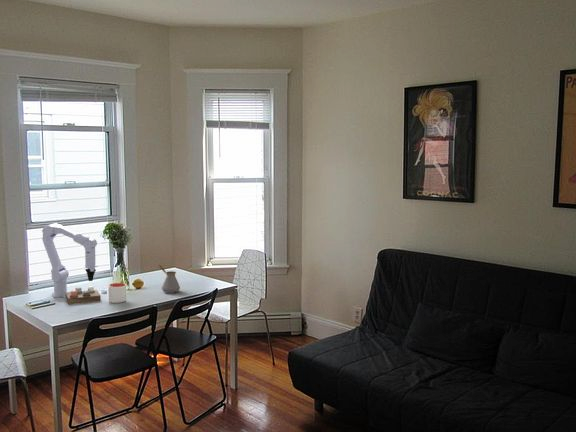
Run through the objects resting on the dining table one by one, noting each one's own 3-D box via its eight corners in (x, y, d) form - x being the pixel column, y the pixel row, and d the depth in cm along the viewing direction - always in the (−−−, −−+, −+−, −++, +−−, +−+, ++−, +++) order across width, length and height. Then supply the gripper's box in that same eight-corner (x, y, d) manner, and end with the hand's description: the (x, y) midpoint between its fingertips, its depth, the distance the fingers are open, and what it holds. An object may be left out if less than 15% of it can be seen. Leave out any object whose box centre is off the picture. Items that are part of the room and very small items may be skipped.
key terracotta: (70, 296, 326) (70, 290, 326) (76, 296, 328) (76, 290, 327) (71, 298, 323) (71, 292, 323) (77, 297, 325) (77, 291, 324)
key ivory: (87, 292, 337) (87, 286, 337) (93, 291, 339) (93, 285, 338) (88, 293, 334) (88, 287, 334) (94, 293, 336) (94, 287, 335)
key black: (83, 297, 329) (82, 291, 329) (89, 297, 331) (88, 291, 331) (83, 299, 327) (83, 293, 326) (89, 298, 328) (89, 292, 328)
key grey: (75, 293, 334) (75, 287, 333) (81, 292, 335) (81, 286, 335) (75, 294, 331) (75, 288, 330) (81, 294, 332) (81, 288, 332)
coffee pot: (183, 292, 355) (183, 269, 353) (167, 295, 347) (167, 271, 345) (166, 285, 371) (166, 263, 369) (150, 288, 363) (151, 265, 361)
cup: (107, 303, 325) (107, 287, 324) (109, 299, 335) (109, 283, 333) (125, 303, 327) (125, 286, 326) (126, 298, 337) (126, 282, 335)
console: (65, 298, 333) (65, 292, 333) (96, 295, 342) (96, 289, 341) (68, 304, 321) (68, 298, 321) (100, 301, 329) (100, 295, 329)
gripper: (99, 260, 329) (99, 282, 331) (95, 255, 342) (95, 277, 344) (86, 261, 326) (87, 283, 328) (83, 256, 339) (83, 278, 340)
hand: (90, 280), depth 335 cm, fingers closed
